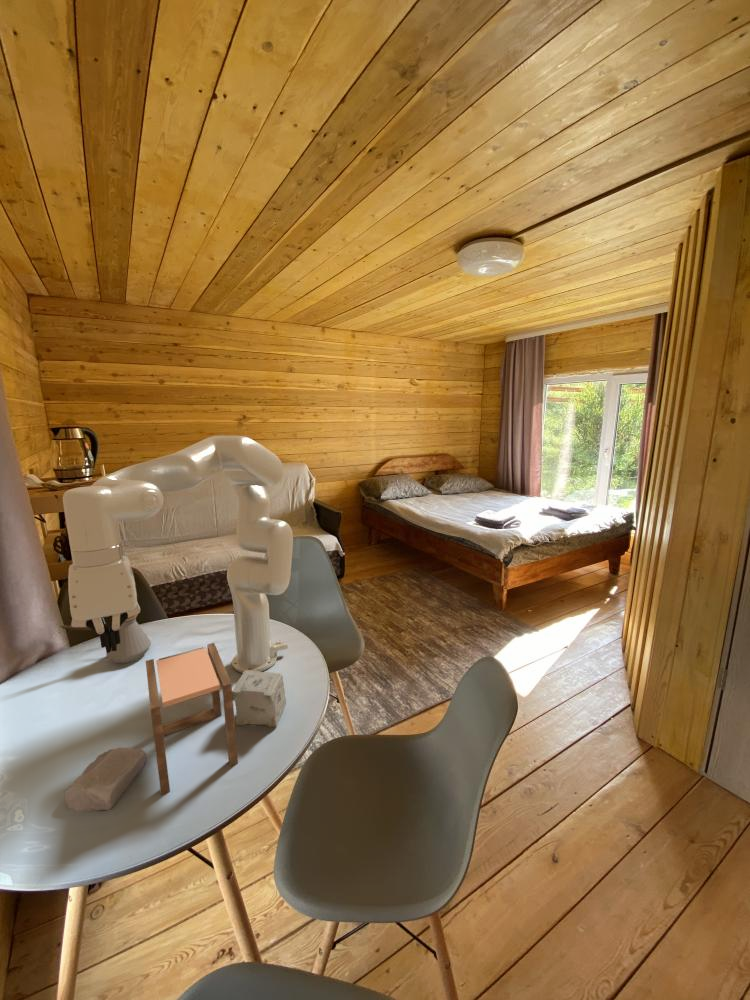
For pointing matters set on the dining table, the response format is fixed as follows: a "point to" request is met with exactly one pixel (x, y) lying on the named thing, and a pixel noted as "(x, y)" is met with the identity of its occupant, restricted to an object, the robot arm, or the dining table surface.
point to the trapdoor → (186, 676)
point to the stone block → (105, 779)
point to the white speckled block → (259, 698)
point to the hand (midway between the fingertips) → (111, 648)
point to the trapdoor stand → (194, 719)
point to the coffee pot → (126, 641)
